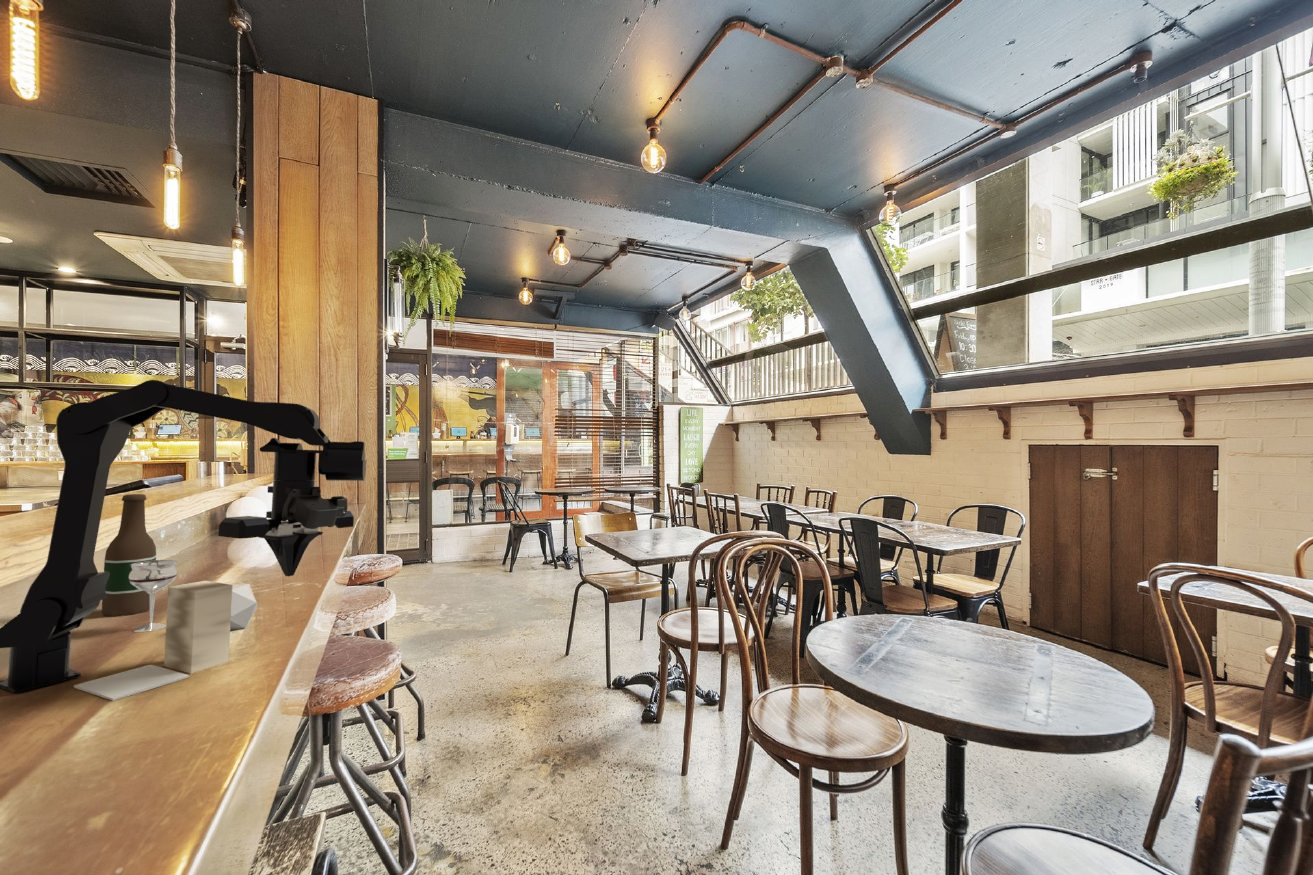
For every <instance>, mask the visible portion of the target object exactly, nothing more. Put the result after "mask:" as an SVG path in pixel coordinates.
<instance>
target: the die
mask: <svg viewBox="0 0 1313 875" xmlns="http://www.w3.org/2000/svg"><path fill="white" fill-rule="evenodd" d="M231 585H232V584H231ZM258 607H259V605H258V602H257V600H256V597H255V595H254V593H253V590H252V588H251V586H250V584H249V583H245V584H237V585H236V584H234V585H232V602H231V622H230V631H232V630H241V629H247V627H248V625H249V623H250V621H251V619H252V618H253V617H254V614H256V611H257V610H258Z"/></svg>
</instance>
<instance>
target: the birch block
mask: <svg viewBox="0 0 1313 875" xmlns="http://www.w3.org/2000/svg"><path fill="white" fill-rule="evenodd" d="M231 602H232V584H228V583H222V582H217V581H210V580H201V581H195V582H189V583H188V582H187V583H184V584H178V585H172V586H167V604H166V605H167V606H166V619H165V620H166V623H165V624H166V627H165V638H164V639H165V641H164V657H163V658H164V662H163V666H164V667H166V668H168V669H169V668H170V669H173V670H176V671H180V672H184V673H188V674H195V673H198V672H200V671H204V670H207V669H211V668H214V667H218V666H220V665H224V664H228V663H229V660H230V642H231V641H230V640H231V639H230V637H231V630H230V622H231Z"/></svg>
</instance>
